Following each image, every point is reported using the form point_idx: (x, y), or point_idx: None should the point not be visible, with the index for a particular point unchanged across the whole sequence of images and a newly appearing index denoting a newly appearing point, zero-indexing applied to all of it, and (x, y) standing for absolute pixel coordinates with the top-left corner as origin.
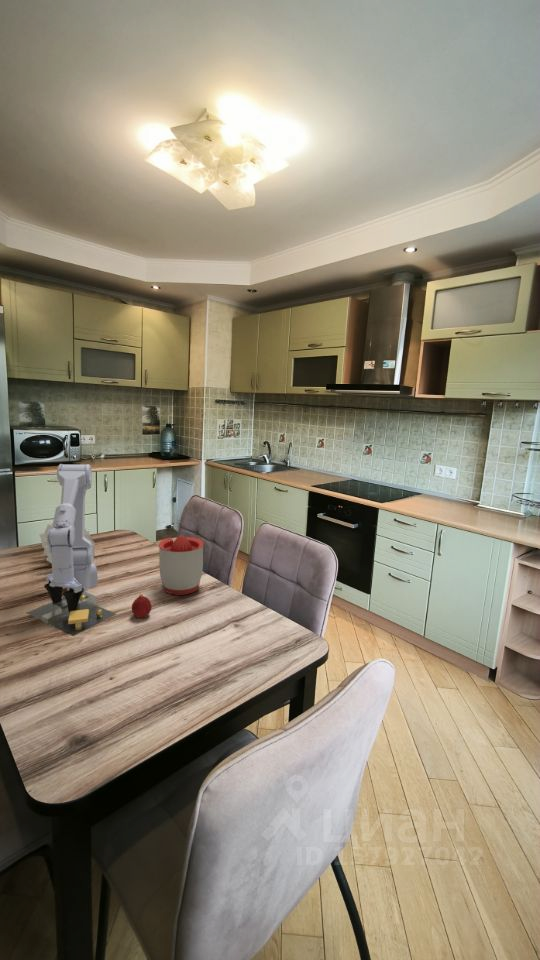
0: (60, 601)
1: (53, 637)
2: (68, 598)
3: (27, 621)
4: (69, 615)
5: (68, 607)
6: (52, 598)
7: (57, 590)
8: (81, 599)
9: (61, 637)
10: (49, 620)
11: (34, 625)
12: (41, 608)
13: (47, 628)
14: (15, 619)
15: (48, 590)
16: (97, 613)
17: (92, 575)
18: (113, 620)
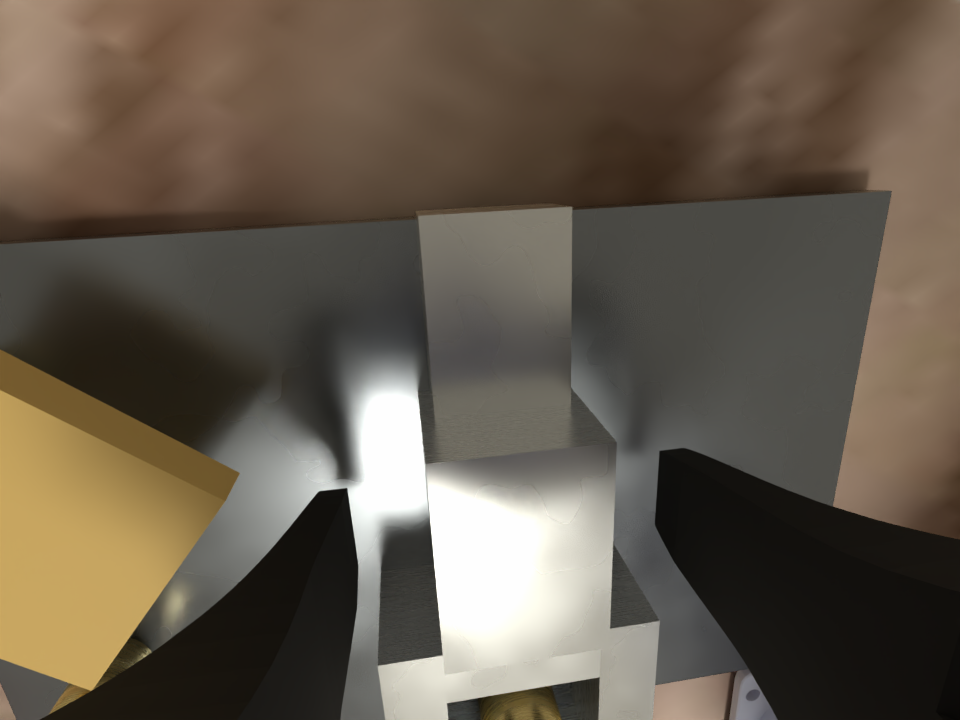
0: (670, 539)
1: (82, 101)
2: (103, 687)
3: (730, 120)
4: (80, 429)
5: (310, 528)
6: (738, 493)
7: (801, 655)
8: (498, 715)
9: (4, 169)
10: (418, 240)
11: (575, 120)
12: (818, 356)
13: (378, 181)
14: (889, 55)
15: (916, 553)
16: (73, 692)
17: None
18: (3, 712)
